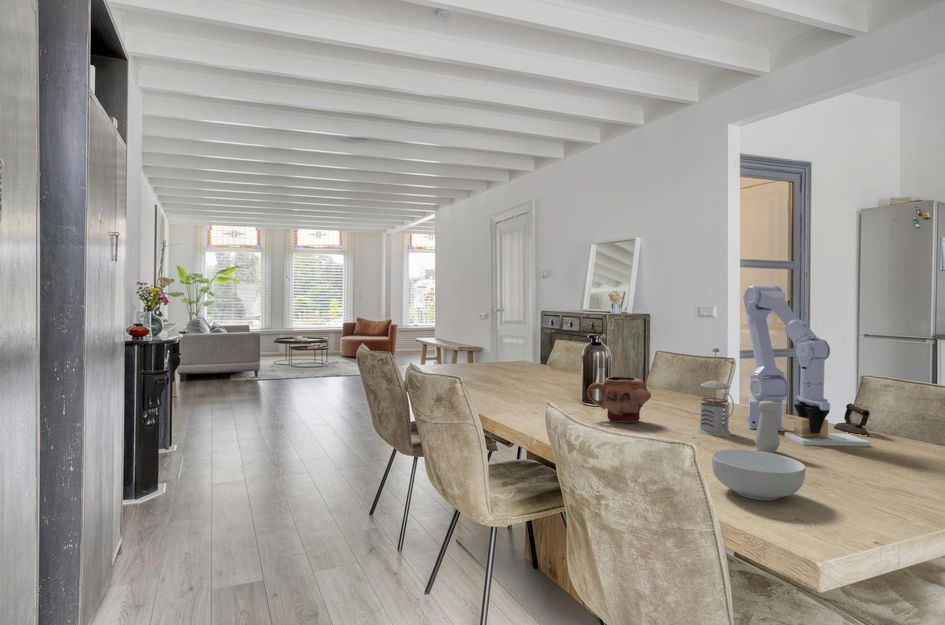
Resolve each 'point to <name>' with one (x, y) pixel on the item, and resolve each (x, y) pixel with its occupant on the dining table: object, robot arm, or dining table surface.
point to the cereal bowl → (758, 473)
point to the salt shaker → (767, 428)
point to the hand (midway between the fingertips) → (810, 431)
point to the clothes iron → (853, 427)
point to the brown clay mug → (621, 397)
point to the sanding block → (804, 428)
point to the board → (830, 440)
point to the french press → (714, 409)
